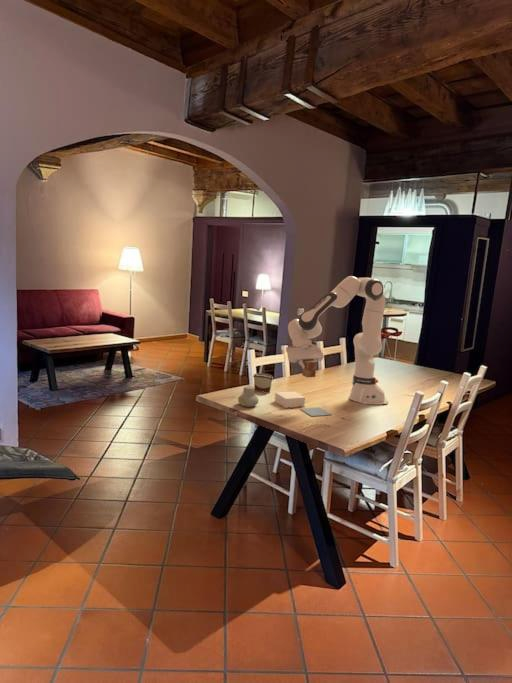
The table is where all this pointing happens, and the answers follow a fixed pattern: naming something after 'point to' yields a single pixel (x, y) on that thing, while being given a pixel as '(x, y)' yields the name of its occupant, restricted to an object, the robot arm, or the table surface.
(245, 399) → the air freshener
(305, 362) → the walnut block
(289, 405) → the block
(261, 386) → the food container
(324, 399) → the table surface
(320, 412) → the mat
